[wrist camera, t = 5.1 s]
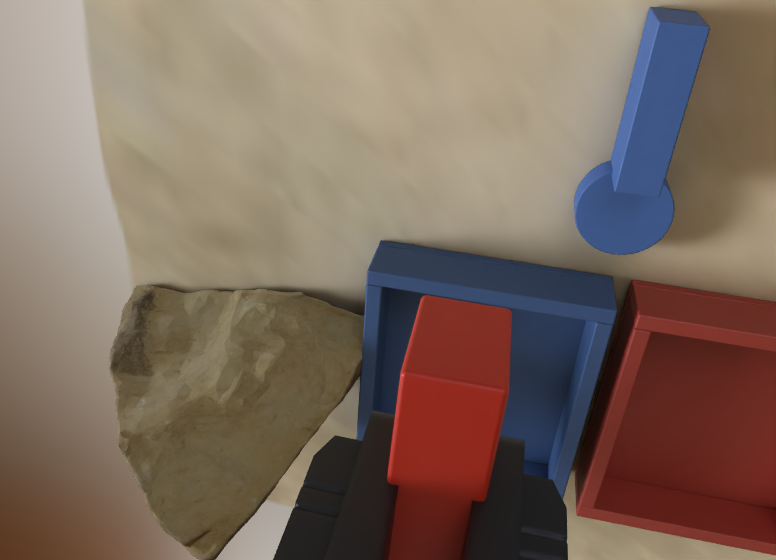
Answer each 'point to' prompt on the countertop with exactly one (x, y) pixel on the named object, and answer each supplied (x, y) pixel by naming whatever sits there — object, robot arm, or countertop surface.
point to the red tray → (686, 420)
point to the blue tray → (528, 340)
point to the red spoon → (447, 424)
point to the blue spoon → (644, 139)
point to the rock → (224, 399)
